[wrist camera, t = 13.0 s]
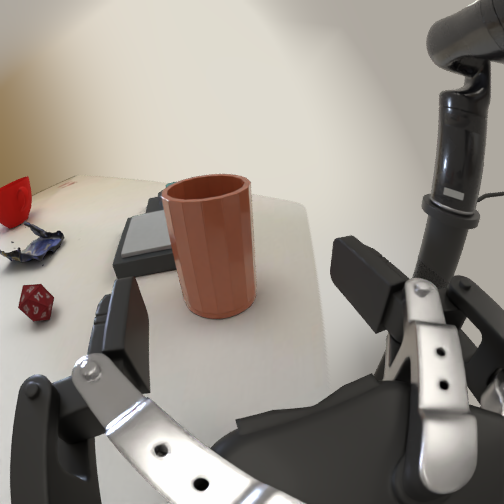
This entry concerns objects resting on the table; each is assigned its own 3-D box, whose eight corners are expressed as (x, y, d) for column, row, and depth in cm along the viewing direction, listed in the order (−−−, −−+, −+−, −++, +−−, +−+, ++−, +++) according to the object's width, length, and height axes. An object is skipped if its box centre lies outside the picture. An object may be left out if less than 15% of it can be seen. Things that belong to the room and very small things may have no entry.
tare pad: (204, 195, 48) (202, 180, 47) (210, 211, 42) (208, 192, 40) (150, 205, 46) (147, 190, 45) (147, 223, 40) (143, 204, 38)
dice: (46, 334, 20) (27, 301, 18) (24, 324, 20) (6, 294, 18) (66, 309, 23) (50, 277, 21) (43, 303, 23) (28, 273, 21)
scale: (215, 214, 41) (213, 198, 39) (234, 258, 30) (231, 237, 28) (130, 230, 38) (126, 214, 37) (117, 280, 27) (110, 260, 26)
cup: (246, 267, 28) (238, 170, 23) (266, 309, 23) (261, 191, 17) (182, 280, 27) (162, 182, 22) (188, 325, 21) (159, 208, 16)
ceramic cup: (15, 236, 41) (1, 193, 36) (-7, 234, 45) (-19, 198, 40) (54, 210, 52) (43, 171, 47) (25, 212, 56) (16, 179, 51)
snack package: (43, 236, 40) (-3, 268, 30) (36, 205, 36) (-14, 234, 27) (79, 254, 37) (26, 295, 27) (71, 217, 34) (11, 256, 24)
